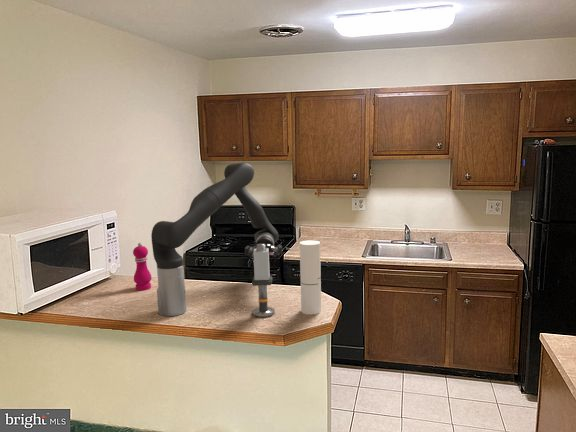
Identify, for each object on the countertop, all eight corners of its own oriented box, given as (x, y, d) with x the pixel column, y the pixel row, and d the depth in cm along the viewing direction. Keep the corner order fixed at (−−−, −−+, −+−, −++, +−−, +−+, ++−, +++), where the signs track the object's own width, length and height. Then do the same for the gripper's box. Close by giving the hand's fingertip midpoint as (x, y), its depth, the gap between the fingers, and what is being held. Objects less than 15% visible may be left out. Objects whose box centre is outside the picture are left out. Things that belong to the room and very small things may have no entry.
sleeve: (254, 280, 155) (253, 252, 154) (255, 276, 160) (254, 248, 159) (269, 279, 155) (268, 251, 154) (269, 275, 160) (268, 248, 159)
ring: (251, 286, 155) (251, 281, 154) (253, 280, 162) (252, 275, 161) (272, 285, 155) (271, 281, 154) (272, 279, 162) (272, 275, 161)
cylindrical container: (324, 309, 162) (323, 241, 158) (314, 316, 156) (313, 245, 152) (308, 306, 166) (306, 239, 162) (297, 312, 160) (295, 243, 156)
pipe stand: (251, 317, 156) (248, 247, 152) (253, 309, 164) (250, 242, 160) (274, 317, 156) (272, 246, 152) (275, 308, 164) (272, 241, 160)
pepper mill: (148, 284, 197) (144, 239, 194) (155, 288, 192) (151, 242, 189) (132, 288, 193) (128, 242, 190) (138, 292, 187) (134, 245, 184)
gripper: (246, 236, 182) (243, 245, 166) (282, 235, 182) (281, 244, 166) (247, 254, 183) (244, 264, 167) (282, 253, 183) (282, 263, 167)
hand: (262, 254), depth 167 cm, fingers open, 8 cm apart
